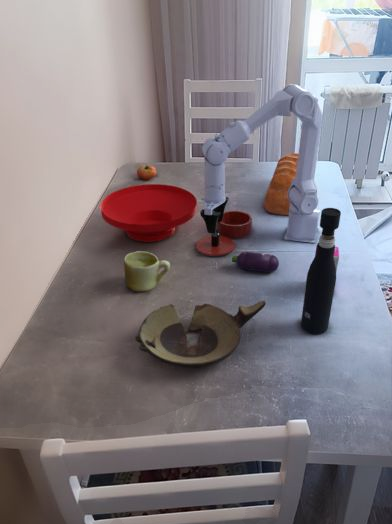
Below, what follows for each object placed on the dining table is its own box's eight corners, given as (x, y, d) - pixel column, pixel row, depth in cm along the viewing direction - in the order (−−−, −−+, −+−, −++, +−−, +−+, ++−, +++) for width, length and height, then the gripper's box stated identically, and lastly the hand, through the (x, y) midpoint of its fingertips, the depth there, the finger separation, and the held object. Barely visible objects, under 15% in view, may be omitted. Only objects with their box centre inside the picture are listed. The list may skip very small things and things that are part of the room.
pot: (254, 224, 160) (255, 212, 157) (247, 240, 151) (247, 227, 149) (222, 221, 162) (222, 209, 160) (213, 236, 154) (213, 223, 152)
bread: (314, 182, 186) (318, 148, 178) (307, 217, 162) (311, 180, 154) (273, 179, 190) (276, 145, 182) (261, 213, 166) (263, 177, 158)
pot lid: (238, 240, 151) (239, 228, 149) (229, 260, 142) (229, 246, 140) (202, 236, 154) (201, 223, 152) (190, 255, 145) (190, 241, 143)
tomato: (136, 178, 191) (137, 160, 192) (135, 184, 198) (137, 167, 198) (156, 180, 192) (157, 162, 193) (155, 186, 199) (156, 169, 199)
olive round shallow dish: (142, 318, 121) (139, 293, 117) (261, 315, 121) (263, 289, 116) (133, 381, 104) (129, 355, 99) (273, 378, 103) (275, 351, 98)
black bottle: (329, 320, 118) (348, 206, 100) (326, 336, 113) (345, 220, 95) (303, 316, 120) (317, 203, 102) (298, 331, 115) (313, 216, 97)
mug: (114, 288, 129) (120, 253, 125) (126, 279, 138) (133, 245, 134) (157, 301, 127) (165, 266, 124) (167, 291, 137) (174, 257, 133)
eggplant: (279, 267, 138) (281, 252, 135) (276, 276, 134) (277, 261, 131) (234, 261, 142) (234, 246, 138) (230, 270, 138) (230, 255, 135)
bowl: (87, 244, 153) (81, 215, 146) (132, 205, 175) (129, 178, 169) (174, 260, 143) (172, 230, 137) (210, 217, 165) (210, 189, 159)
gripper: (208, 172, 142) (209, 215, 150) (193, 192, 131) (195, 236, 140) (231, 174, 140) (231, 217, 149) (218, 194, 130) (218, 239, 138)
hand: (215, 226), depth 144 cm, fingers open, 7 cm apart
